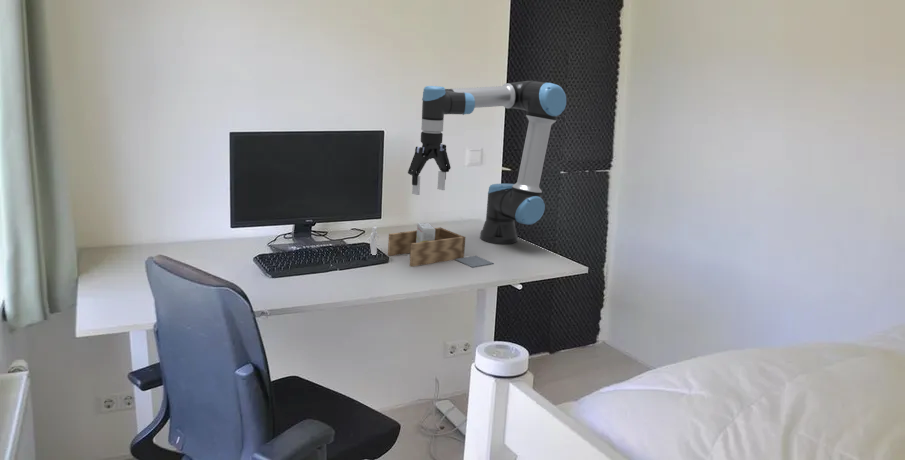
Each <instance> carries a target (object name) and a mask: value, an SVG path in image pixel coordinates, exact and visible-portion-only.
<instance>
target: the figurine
mask: <svg viewBox="0 0 905 460" xmlns="http://www.w3.org/2000/svg"><path fill="white" fill-rule="evenodd" d="M379 238H380V237H379V233H378V232H377V226H376V225H374V226H372V228H371V233H370V236H369V237H367V238H366V240H365V241H364V244H365V243H367V241H369V246H370V254H372V255H376V254H377V255H378V249H377V240H379ZM376 239H377V240H376Z"/></svg>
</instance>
